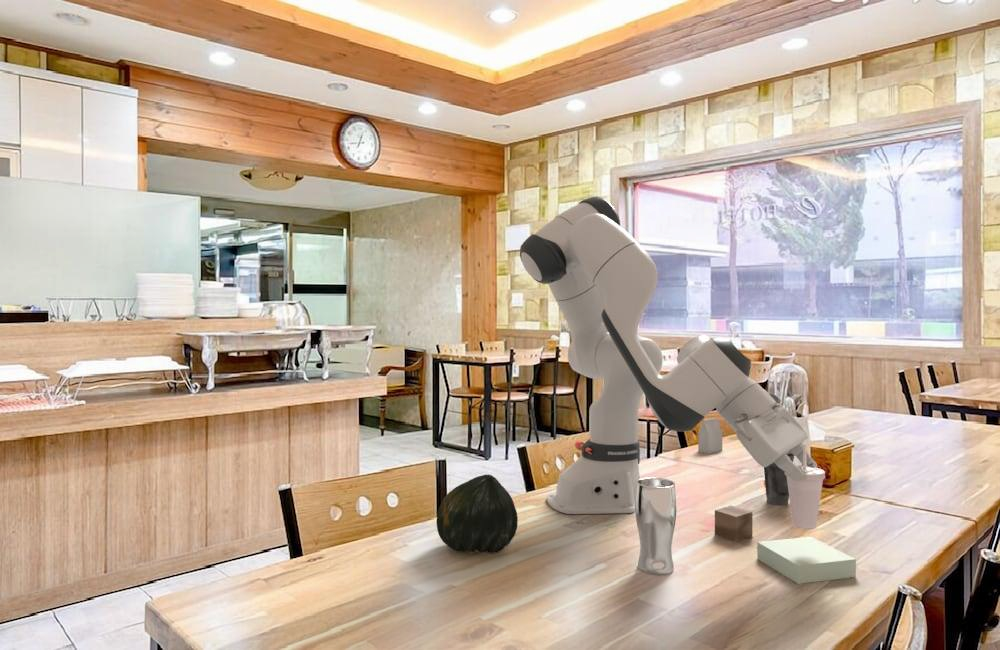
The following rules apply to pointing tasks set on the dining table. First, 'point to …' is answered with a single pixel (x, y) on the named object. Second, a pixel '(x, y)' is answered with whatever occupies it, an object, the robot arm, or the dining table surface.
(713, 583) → the dining table surface
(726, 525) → the brick
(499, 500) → the squash
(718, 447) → the grey tapered block
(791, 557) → the pedestal
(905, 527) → the dining table surface
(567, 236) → the robot arm
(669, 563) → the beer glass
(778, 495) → the beverage cup
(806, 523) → the smoothie
